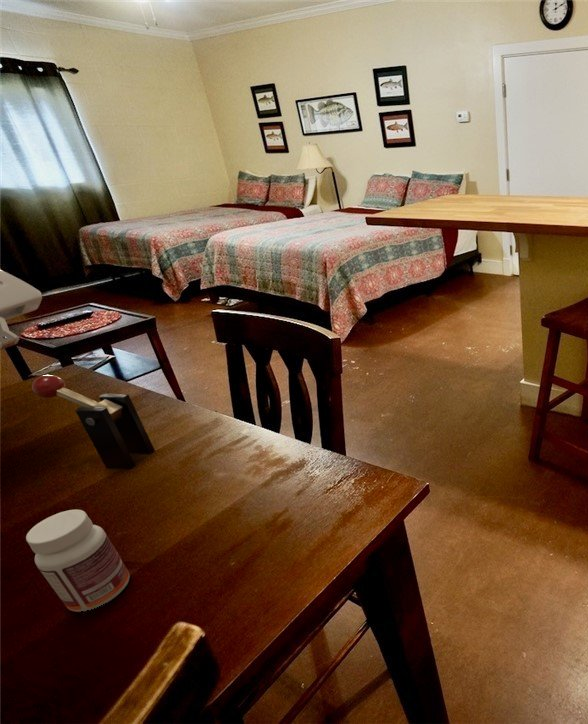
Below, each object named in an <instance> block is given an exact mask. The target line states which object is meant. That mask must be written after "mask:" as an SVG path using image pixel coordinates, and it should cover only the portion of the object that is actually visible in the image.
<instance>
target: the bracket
mask: <svg viewBox="0 0 588 724" xmlns="http://www.w3.org/2000/svg"><path fill="white" fill-rule="evenodd" d="M98 399H99V402H101V401H103V400H104V399H106V400H109V401H111V402H113V403H115V404H118V405H120V406H122V413H121V417H120V418H119V419H117V420H115V421H113V419H112V417H111V415H110V413H109V411H108V409H107V408H98V407H83V406H80V407H78V408H76V409H75V410H74V411H75V413H76V415H77V417H78V419H79V421H80V422H81V424H82V426H83V428H84V430H85V431H86V433H87V435H88V437H89V439H90V441H91V443H92V444H93V446H94V448H95V450H96V452H97V454H98V456H99V457H100V459H101V461H102V463H103V464H104V467H105V468H106V469H113V470H132V469H133V468H134V467H136V466H137V464H136V462H135V461H134V460H133V459H134V458H133V457H132V455H131V454H138V455H152V454H153V453H154V452H155V451H156V450H155V448H154V446H153V443H152V440H151V439H150V437H149V435H148V433H147V431H146V429H145V426H144V425H143V421H142V420H141V418H140V416H139V414H138V411H137V409H136V408H135V405H134V403H133V401H132V399H131V396H130V395H129V394H122V393H121V394H120V393H119V394H118V393H117V394H116V393H103V394H100V395H99V396H98Z"/></svg>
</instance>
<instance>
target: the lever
mask: <svg viewBox="0 0 588 724" xmlns="http://www.w3.org/2000/svg"><path fill="white" fill-rule="evenodd" d="M31 389H32V391H33V393H34V394H35V395H37V396H39V397H41V398H47V399H48V398H50V399H51V398H55V397H61V398H63V399H65V400H67V401H69V402H72V403H74V404H77V405H79V406H80V407H98V408H107V409H108V411H109V413H110V415H111V417H112V419H113V421H115V420H117V419H119V418H120V417H121V413H122V406H120V405H118V404H115V403H113V402H111V401H109V400H106V399H104V400H103V401H99V402H98V401H96V400H94V399H91V398H89V397H87V396H85V395H82V394H81V393H78V392H75V391H73V390H71V389H68V388H66V383H65V381H64V380H63V379H62V378H61V377H60V376H57V375H54V374H44V375H41V376H38V377H37V378H36V379H34V381H33V382H32V385H31Z"/></svg>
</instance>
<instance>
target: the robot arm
mask: <svg viewBox="0 0 588 724" xmlns="http://www.w3.org/2000/svg"><path fill="white" fill-rule="evenodd" d="M42 300H43V295H42V292H41V291H40V290H39V289H37V288H35V287H34V286H33V285H31V284H29V283H27V282H26V281H24V280H22V279H21V278H18V277H16V276H14V275H13V274H10V273H9V272H7V271H4V270H2V269H1V268H0V351H1V350H5V349H6V348H9V347H12V346H15V345H17V344H18V343H19V341H20V337H19V335H17V334H15V333H14V332H12V331H11V330H10V329H9V326H8V324H7V321H8V320H11V319H15V318H16V317H20V316H22V315H25V314H28V313H32V312H35V311H36V310H38V309H39V307H40V305H41V302H42Z"/></svg>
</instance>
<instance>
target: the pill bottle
mask: <svg viewBox="0 0 588 724" xmlns="http://www.w3.org/2000/svg"><path fill="white" fill-rule="evenodd" d="M25 541H26V543H27V544H28V545H29V546H30V549H31V550H32V552H33V553H34V554H35V555H34V563H35V565H36V568H37V569H38V570H39V571H40V573H41V575H42V576H43V577H44V578H45V579H46V581H47V583H48V584H49V585H50V587H51V588H52V589H53V591H54V592H55V594H56V595H57V596H58V598H59V599H60V600H61V602H62V603H63V605H64V606H65V607H66V608H67V609H68V610H69V611H71V612H75V613H82V612H81V611H83V612H88V611H87V610H89V611H92V610H95V609H98V608H100V607H102V606H104V605H106V604H107V603H109V602H110V601H112V600H113V599H115V598H117V596H118V595H120V593H122V592H123V591H124V589H125V588H126V587H127V586H128V583H129V582H130V578H131V575H130V571H129V570H128V568H127V566H126V565H125V563H124V561H123V560H122V558H121V556H120V555H119V553H118V551H117V549H116V547H115V546H114V544H113V543H112V542H111V541H112V540H110V539H109V537H108V534H107V533H106V532H105V530H104V529H103V528H102V527H101V526H100V525H96V524H93V522H92V520H91V518H90V517H89V516H88V514H87V512H85V511H84V510H82V509H69V510H65V511H60V512H58V513H56V514H53V515H51V516H48V517H46V518H45V519H43V520H41V521H40V522H38V523H36V524H35V525H34V526H33V527H32V528H31V529H29V531H27V534H26V536H25ZM105 603H106V604H105ZM103 604H104V605H103ZM101 605H102V606H101ZM99 606H100V607H99ZM97 607H98V608H97ZM94 608H95V609H94ZM91 609H92V610H91Z"/></svg>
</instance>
